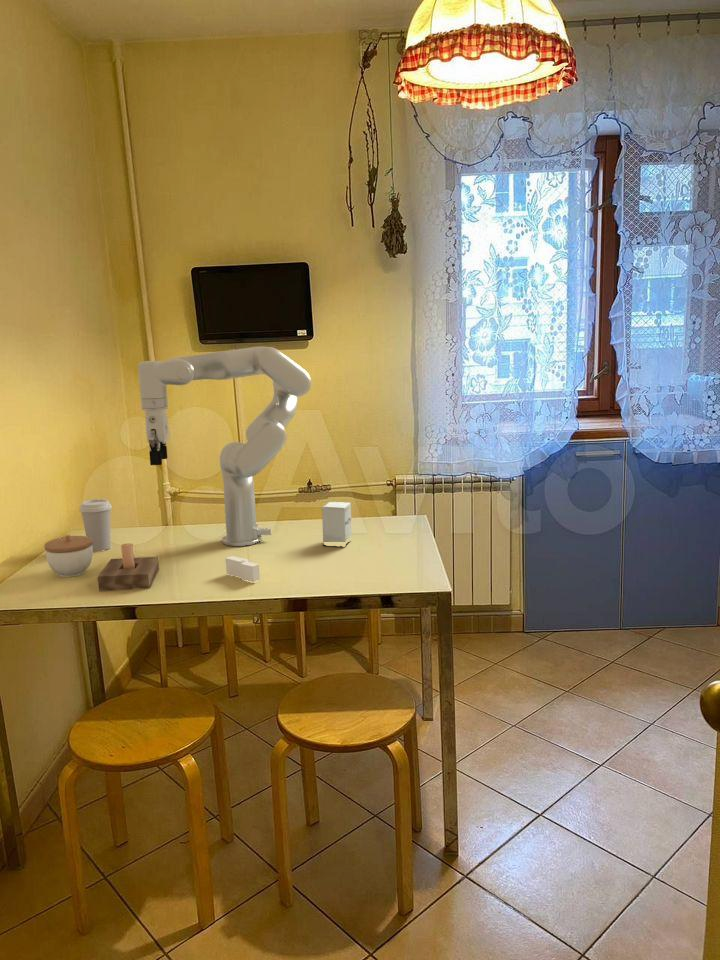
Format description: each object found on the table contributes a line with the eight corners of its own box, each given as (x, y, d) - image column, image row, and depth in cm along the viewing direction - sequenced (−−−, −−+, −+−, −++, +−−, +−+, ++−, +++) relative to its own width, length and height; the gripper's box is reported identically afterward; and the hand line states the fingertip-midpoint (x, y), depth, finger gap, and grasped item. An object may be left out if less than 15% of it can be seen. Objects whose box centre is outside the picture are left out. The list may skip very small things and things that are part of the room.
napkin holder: (219, 574, 209) (217, 554, 208) (259, 569, 212) (258, 550, 211) (223, 592, 195) (222, 571, 194) (267, 587, 198) (266, 566, 197)
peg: (137, 578, 206) (133, 543, 204) (134, 581, 203) (131, 546, 201) (125, 578, 206) (122, 543, 204) (123, 582, 203) (120, 546, 201)
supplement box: (345, 548, 229) (344, 507, 226) (322, 546, 231) (321, 506, 228) (352, 541, 236) (351, 502, 233) (330, 539, 238) (328, 501, 235)
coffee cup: (120, 544, 239) (115, 498, 236) (109, 553, 230) (105, 505, 227) (90, 544, 239) (85, 498, 236) (78, 553, 230) (73, 505, 227)
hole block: (159, 570, 212) (158, 556, 212) (149, 588, 198) (148, 573, 197) (112, 572, 211) (111, 558, 211) (98, 591, 197) (97, 576, 196)
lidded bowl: (50, 583, 204) (46, 544, 201) (45, 570, 214) (41, 533, 212) (99, 575, 209) (95, 537, 207) (91, 563, 220) (87, 526, 218)
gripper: (162, 406, 210) (167, 466, 213) (172, 400, 227) (176, 456, 230) (135, 407, 209) (140, 468, 213) (147, 401, 226) (151, 457, 230)
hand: (159, 461), depth 222 cm, fingers open, 9 cm apart
